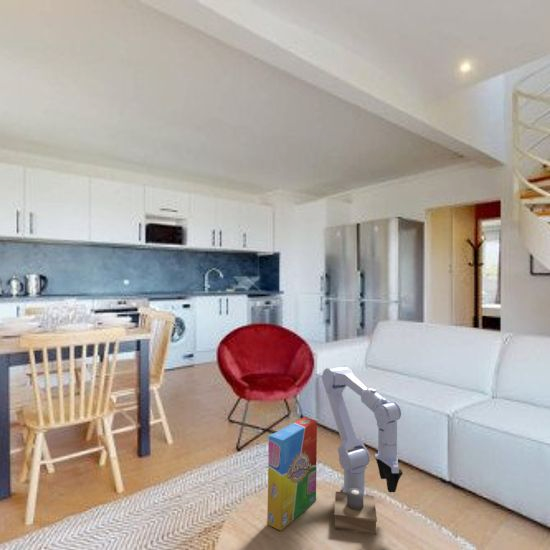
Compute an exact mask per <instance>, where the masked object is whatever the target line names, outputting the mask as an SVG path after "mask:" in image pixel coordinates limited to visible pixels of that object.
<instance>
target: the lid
mask: <svg viewBox="0 0 550 550" xmlns="http://www.w3.org/2000/svg"><path fill="white" fill-rule="evenodd" d="M334 498H335V499H334V515H333V516H334V517H335V516H336V517H343V518H351V519H359V520H366V521H374V522H376V523H377V522H378V518H377V510H376V502H375V500H376V499H375V496H374V495H369V494H366V495H363V508H362V509H361V510H353V509H350V508H349V507H348V506H347V493H345V492H343V491H336V490H335V497H334Z"/></svg>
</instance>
